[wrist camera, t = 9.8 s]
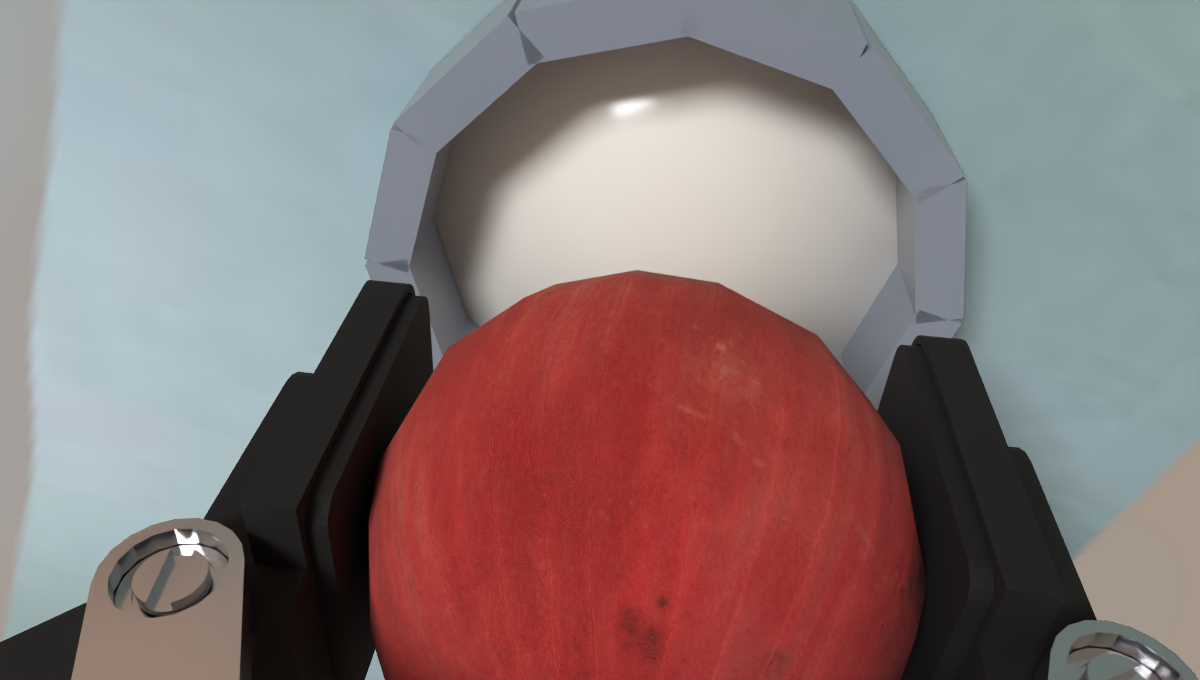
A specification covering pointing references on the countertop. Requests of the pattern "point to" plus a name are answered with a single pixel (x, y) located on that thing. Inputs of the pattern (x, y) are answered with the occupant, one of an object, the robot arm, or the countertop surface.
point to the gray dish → (679, 169)
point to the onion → (643, 500)
